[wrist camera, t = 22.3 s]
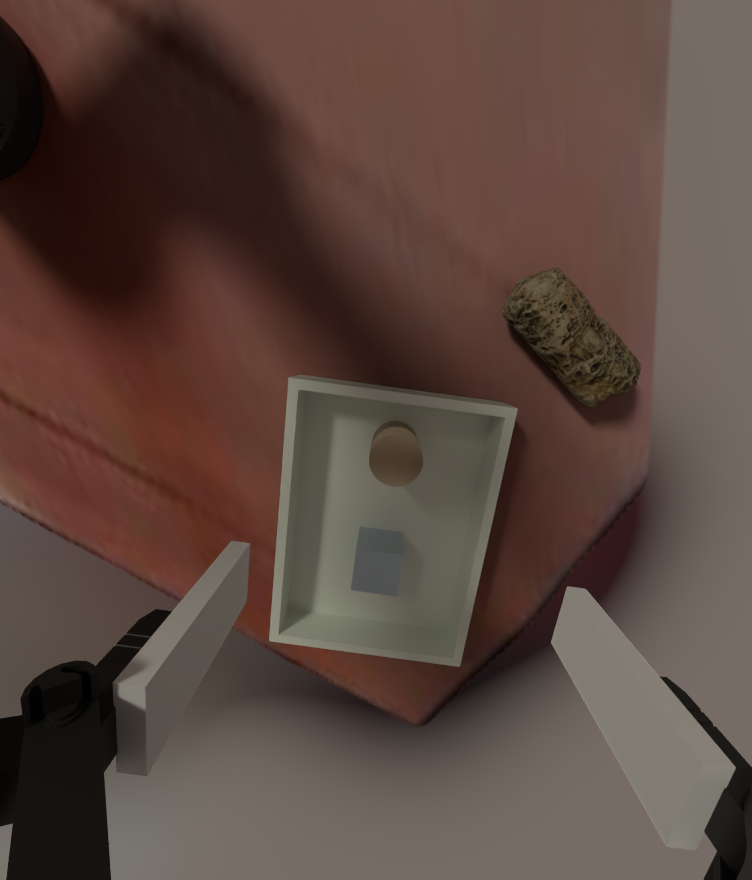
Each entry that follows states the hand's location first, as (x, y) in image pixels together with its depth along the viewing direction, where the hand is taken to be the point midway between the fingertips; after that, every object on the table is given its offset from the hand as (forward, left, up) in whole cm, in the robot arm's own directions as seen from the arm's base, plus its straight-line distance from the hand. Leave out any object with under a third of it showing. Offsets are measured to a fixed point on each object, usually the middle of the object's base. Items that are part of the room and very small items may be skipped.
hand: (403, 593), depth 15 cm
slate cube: (0, -13, -26) cm, 29 cm away
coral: (+15, +13, -27) cm, 34 cm away
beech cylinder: (0, 0, -26) cm, 26 cm away
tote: (0, -9, -27) cm, 28 cm away
